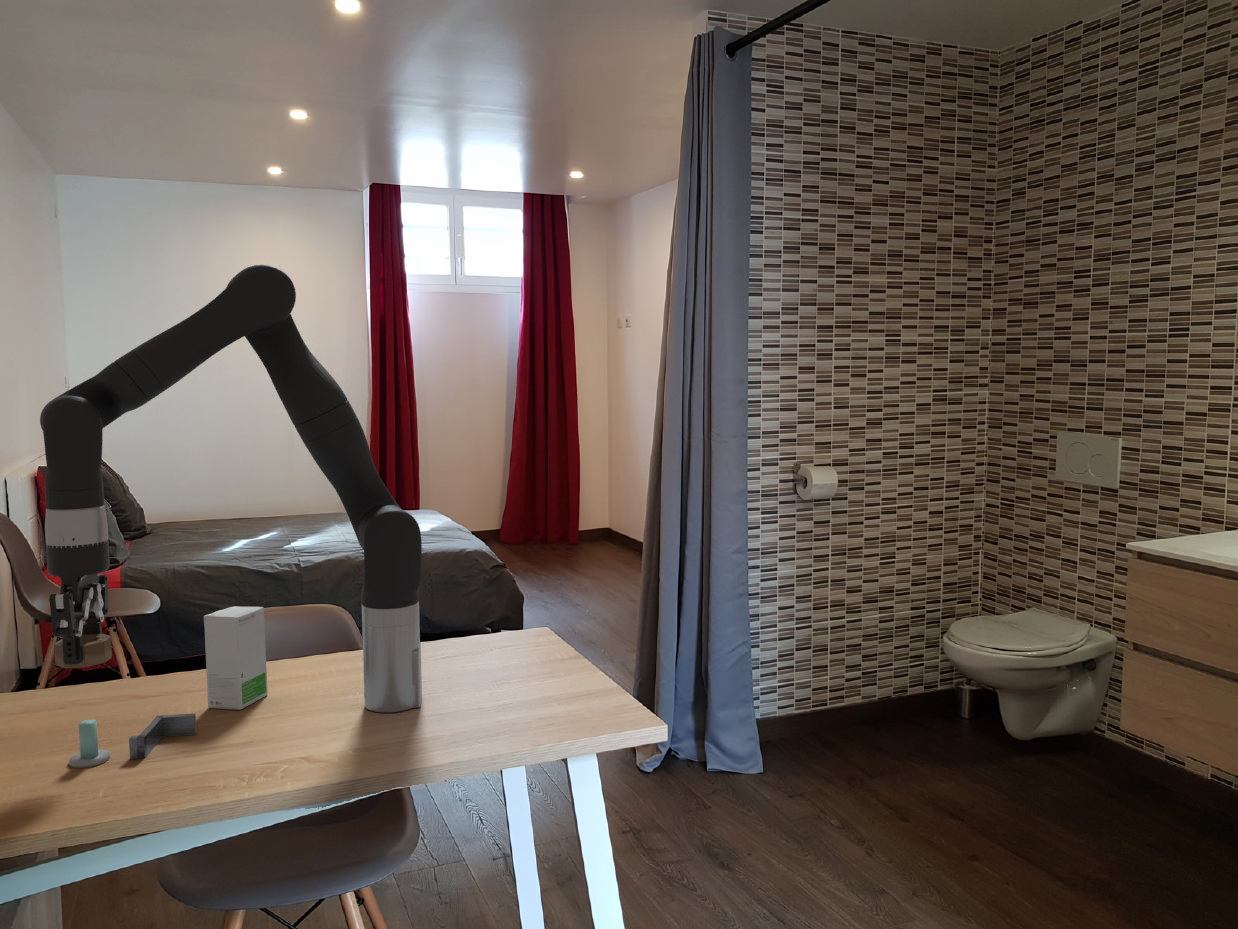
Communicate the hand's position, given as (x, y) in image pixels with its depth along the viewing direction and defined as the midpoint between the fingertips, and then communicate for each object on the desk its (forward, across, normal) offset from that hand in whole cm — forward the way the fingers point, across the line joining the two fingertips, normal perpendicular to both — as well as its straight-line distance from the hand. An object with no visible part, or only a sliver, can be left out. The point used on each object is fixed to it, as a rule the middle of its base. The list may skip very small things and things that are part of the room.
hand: (83, 655), depth 129 cm
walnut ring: (+1, 0, 0) cm, 1 cm away
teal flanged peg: (+15, 0, 0) cm, 15 cm away
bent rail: (+15, +4, -9) cm, 18 cm away
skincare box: (+15, +22, -15) cm, 31 cm away
